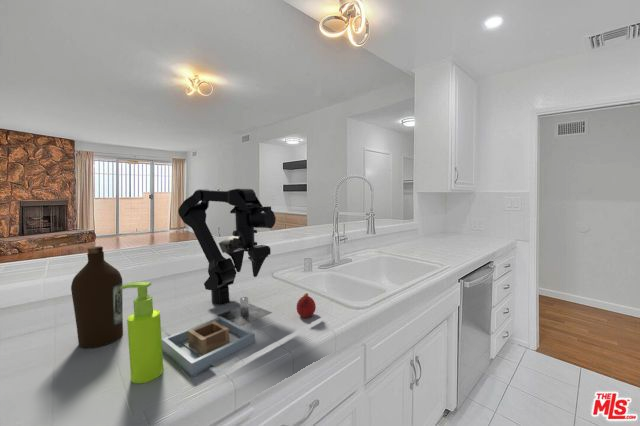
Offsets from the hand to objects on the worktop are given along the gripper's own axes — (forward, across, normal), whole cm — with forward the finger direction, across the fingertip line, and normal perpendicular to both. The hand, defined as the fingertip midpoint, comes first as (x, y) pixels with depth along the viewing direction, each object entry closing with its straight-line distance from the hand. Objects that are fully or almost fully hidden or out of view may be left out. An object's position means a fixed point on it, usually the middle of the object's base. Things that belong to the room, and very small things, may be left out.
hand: (246, 274), depth 92 cm
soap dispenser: (+12, +11, -34) cm, 38 cm away
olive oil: (+12, -15, -36) cm, 41 cm away
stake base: (+12, +4, -4) cm, 13 cm away
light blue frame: (+12, +12, -20) cm, 26 cm away
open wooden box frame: (+11, +12, -20) cm, 26 cm away
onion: (+12, +20, +7) cm, 24 cm away
